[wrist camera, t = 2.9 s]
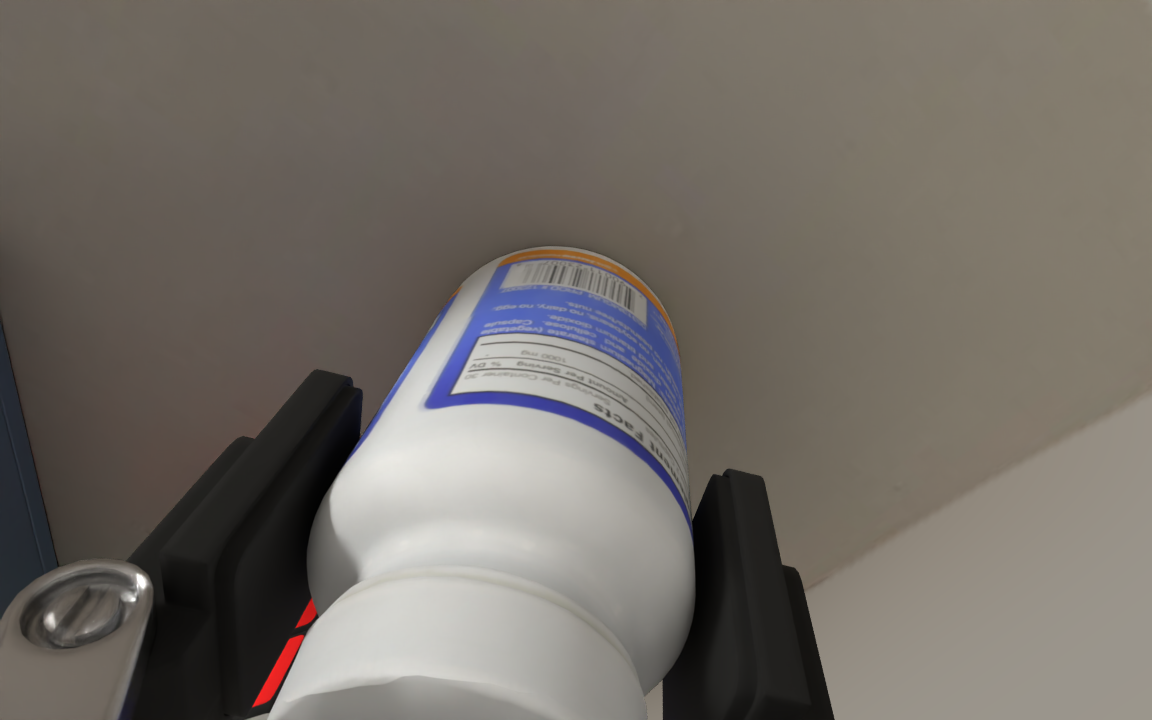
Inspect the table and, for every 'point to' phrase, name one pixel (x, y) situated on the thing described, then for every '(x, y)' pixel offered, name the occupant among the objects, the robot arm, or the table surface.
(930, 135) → the table surface
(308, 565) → the pill bottle
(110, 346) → the table surface
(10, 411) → the slate bin
